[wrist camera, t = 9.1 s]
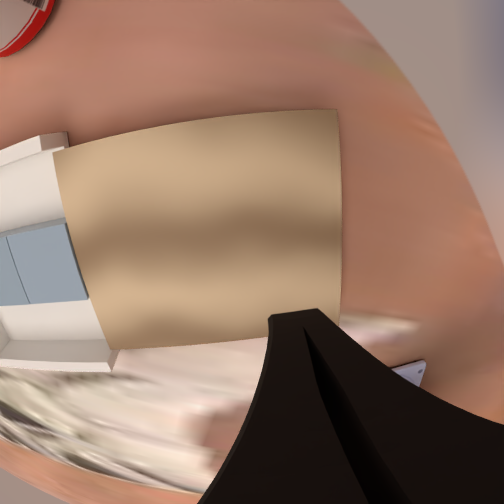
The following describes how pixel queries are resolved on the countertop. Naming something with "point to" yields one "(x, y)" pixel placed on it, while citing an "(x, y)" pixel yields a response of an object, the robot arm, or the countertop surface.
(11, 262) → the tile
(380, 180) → the countertop surface
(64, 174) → the board
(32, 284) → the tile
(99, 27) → the countertop surface
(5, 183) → the tray
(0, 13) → the beer can
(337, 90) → the countertop surface
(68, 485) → the countertop surface
